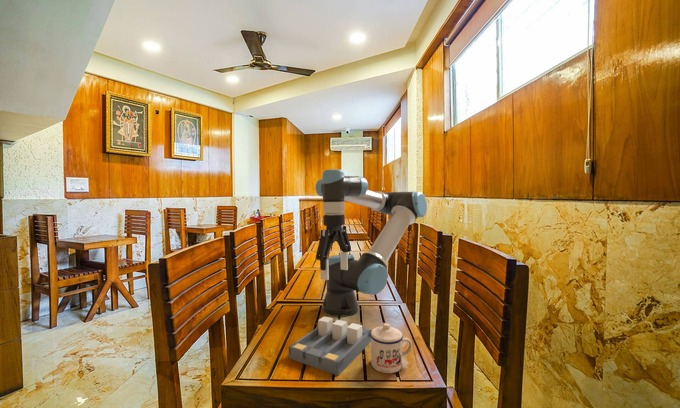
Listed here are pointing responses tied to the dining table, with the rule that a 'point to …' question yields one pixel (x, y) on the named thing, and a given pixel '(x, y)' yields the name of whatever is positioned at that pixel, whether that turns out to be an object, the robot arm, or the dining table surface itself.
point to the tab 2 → (339, 329)
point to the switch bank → (328, 350)
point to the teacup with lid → (387, 349)
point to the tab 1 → (324, 325)
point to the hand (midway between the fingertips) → (335, 274)
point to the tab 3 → (354, 333)
